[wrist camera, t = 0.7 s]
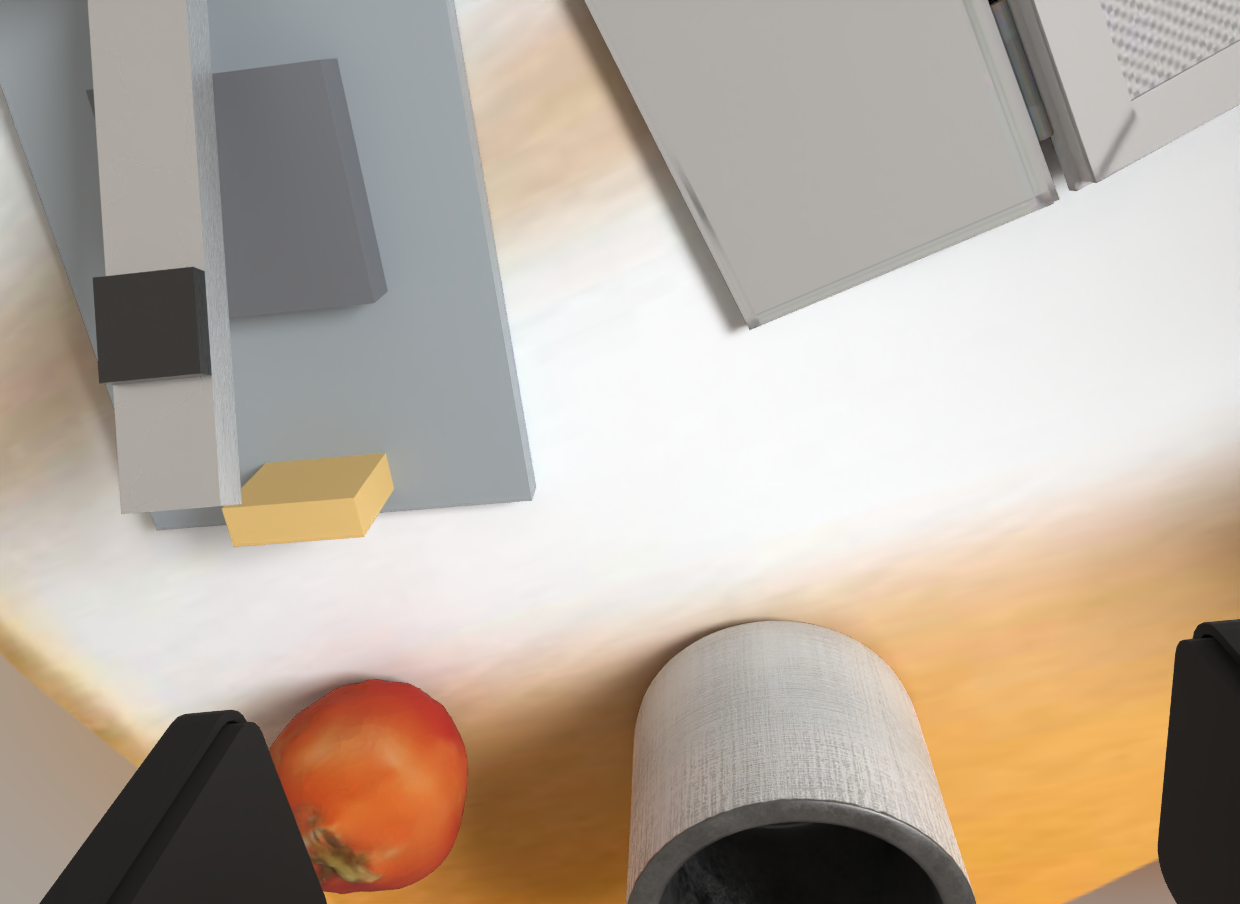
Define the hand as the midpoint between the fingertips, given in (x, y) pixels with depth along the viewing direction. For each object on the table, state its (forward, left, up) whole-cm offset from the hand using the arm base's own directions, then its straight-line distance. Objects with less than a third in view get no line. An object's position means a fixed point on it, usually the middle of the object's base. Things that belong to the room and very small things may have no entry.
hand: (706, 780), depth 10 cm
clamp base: (-3, -15, -28) cm, 32 cm away
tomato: (+21, -16, -28) cm, 39 cm away
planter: (+22, +2, -28) cm, 36 cm away
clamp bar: (-4, -15, -21) cm, 26 cm away
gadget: (-8, +10, -28) cm, 31 cm away
